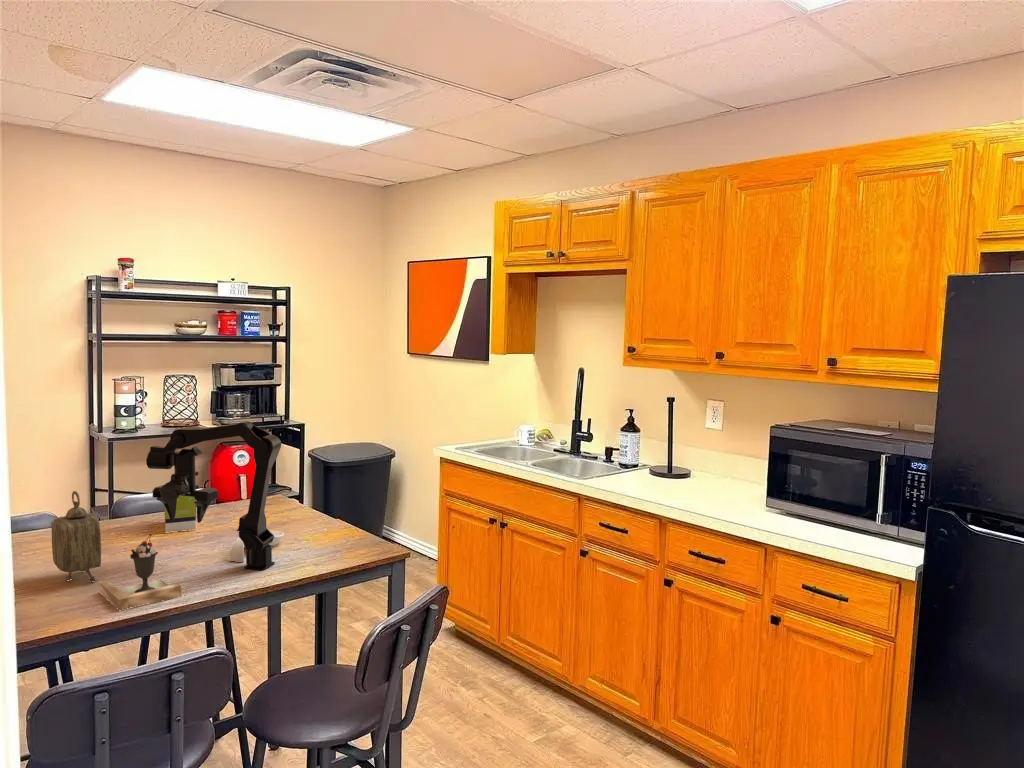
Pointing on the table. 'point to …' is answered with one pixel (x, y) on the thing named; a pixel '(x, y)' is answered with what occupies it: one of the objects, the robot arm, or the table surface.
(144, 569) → the sundae
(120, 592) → the corner tray
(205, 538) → the table surface
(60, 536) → the tabletop clock
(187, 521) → the tea box
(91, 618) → the table surface
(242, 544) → the spoon rest
